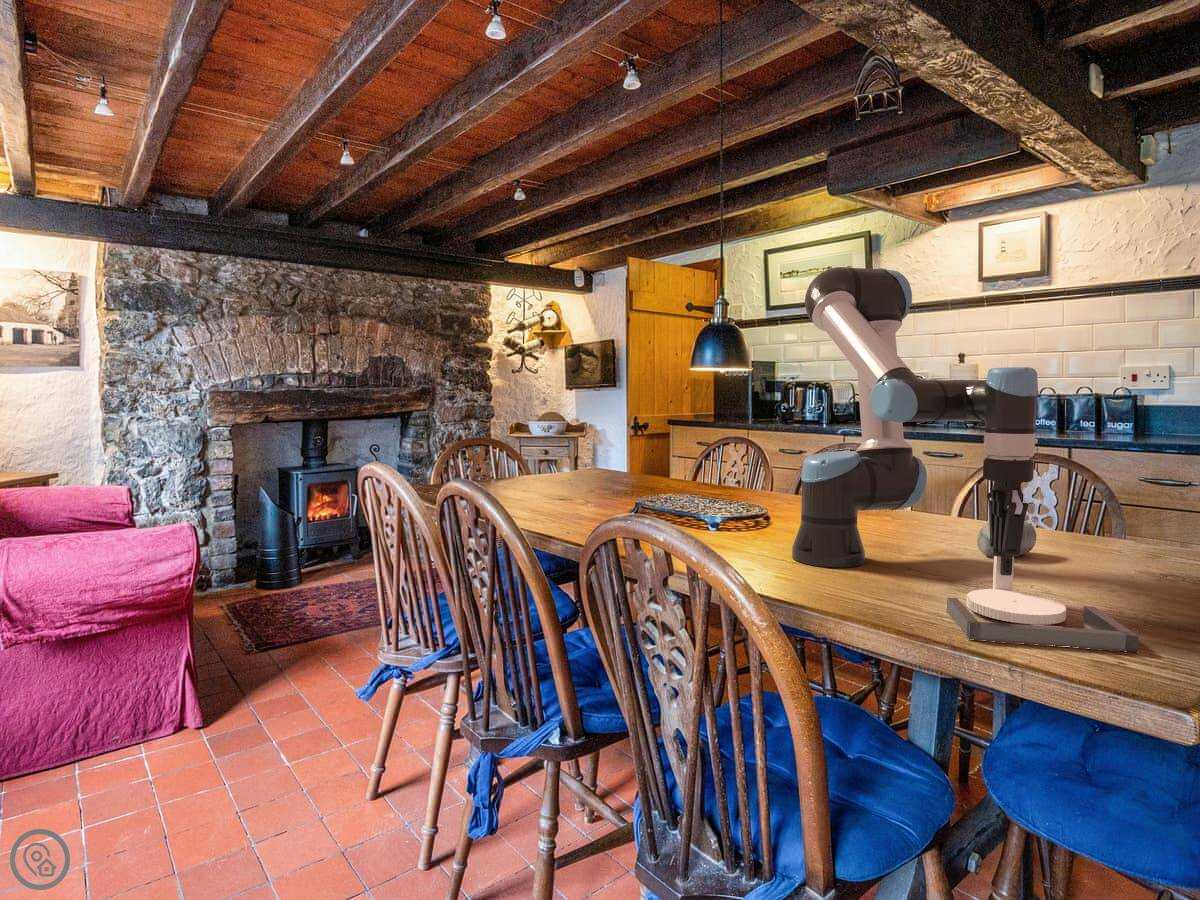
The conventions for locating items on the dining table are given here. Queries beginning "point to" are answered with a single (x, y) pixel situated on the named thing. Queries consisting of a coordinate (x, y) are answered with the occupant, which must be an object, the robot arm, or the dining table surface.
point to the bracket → (1049, 631)
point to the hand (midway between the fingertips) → (1002, 591)
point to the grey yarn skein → (1026, 543)
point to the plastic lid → (1016, 606)
